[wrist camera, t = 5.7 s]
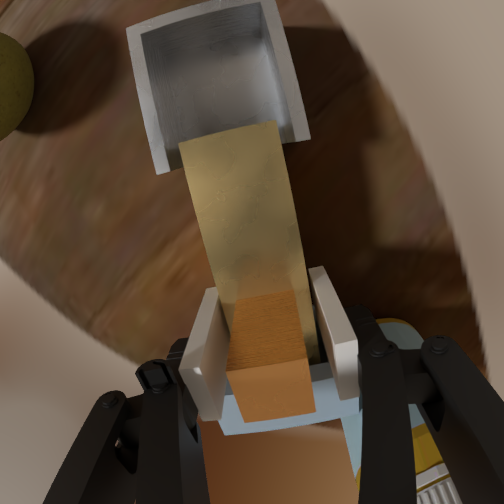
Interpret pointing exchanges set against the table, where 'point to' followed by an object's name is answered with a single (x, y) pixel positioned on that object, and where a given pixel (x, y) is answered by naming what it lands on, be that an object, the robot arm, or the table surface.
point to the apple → (14, 84)
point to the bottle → (425, 450)
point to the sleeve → (214, 75)
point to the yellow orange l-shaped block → (256, 267)
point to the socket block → (325, 410)
